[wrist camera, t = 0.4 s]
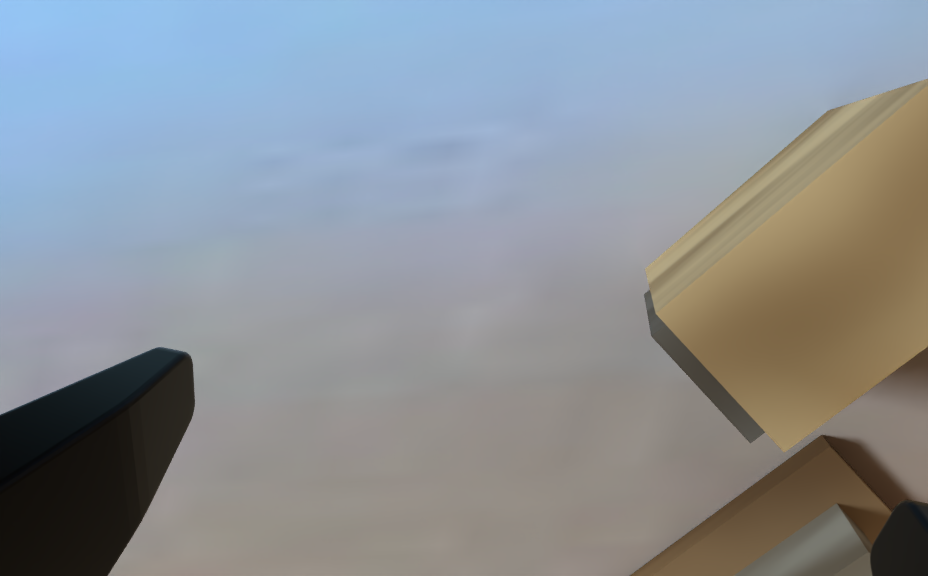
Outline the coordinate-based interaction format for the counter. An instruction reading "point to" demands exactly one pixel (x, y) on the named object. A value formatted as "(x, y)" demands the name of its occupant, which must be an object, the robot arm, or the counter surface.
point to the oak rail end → (806, 273)
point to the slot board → (785, 525)
